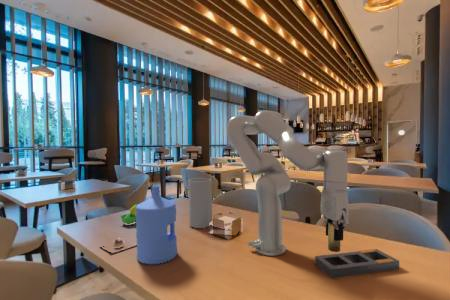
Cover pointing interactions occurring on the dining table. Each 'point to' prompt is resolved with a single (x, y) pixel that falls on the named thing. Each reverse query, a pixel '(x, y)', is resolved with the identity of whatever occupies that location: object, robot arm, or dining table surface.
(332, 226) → the brass peg
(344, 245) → the dining table surface
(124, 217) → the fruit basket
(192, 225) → the cylinder vase
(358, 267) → the grey compartment tray
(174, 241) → the water jug
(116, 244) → the dessert
